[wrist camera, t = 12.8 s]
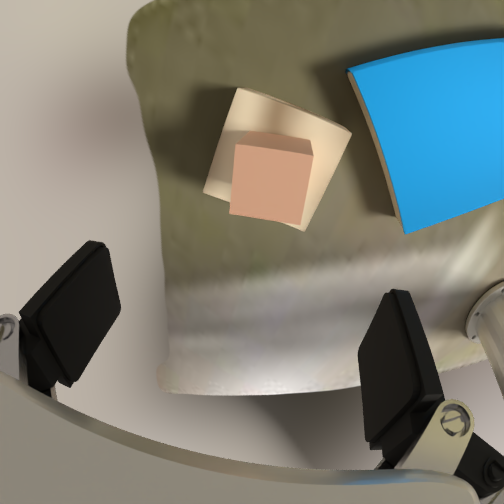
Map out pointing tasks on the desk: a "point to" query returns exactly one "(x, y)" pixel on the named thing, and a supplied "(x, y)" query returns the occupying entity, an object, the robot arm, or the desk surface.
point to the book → (437, 127)
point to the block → (271, 177)
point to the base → (281, 123)
